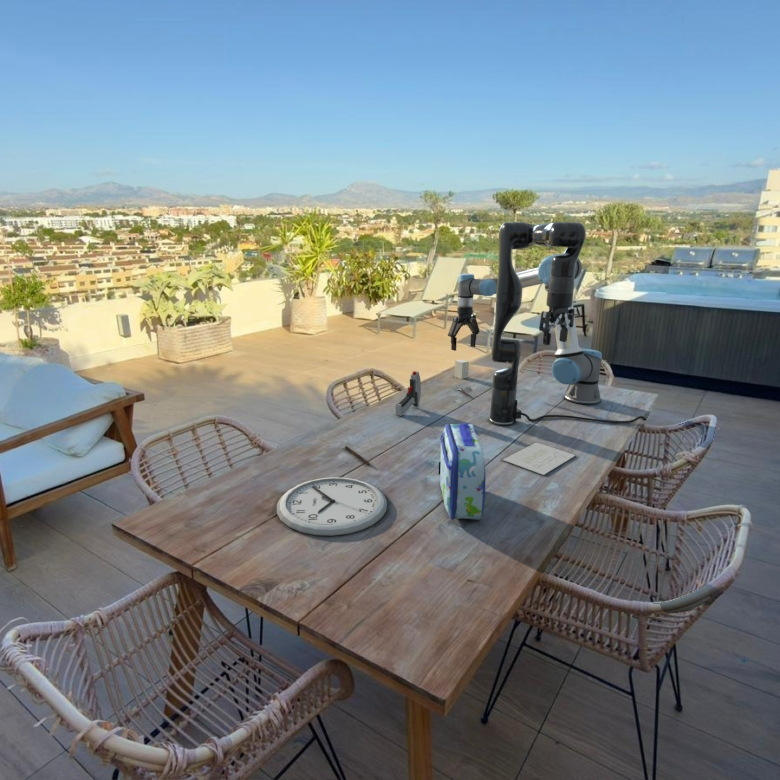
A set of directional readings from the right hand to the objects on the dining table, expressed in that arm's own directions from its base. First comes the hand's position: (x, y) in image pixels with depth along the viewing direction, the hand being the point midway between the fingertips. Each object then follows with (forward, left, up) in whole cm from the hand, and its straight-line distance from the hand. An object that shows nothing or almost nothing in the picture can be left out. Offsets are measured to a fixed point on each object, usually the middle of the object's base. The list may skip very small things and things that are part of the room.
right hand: (463, 348), depth 263 cm
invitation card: (+92, +35, -15) cm, 99 cm away
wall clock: (+139, -22, -15) cm, 141 cm away
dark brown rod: (+107, -24, -15) cm, 110 cm away
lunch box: (+128, +12, -15) cm, 130 cm away
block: (0, 0, -15) cm, 15 cm away
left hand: (+91, +36, +24) cm, 100 cm away
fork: (+26, +3, -15) cm, 30 cm away
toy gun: (+58, -16, -15) cm, 62 cm away
